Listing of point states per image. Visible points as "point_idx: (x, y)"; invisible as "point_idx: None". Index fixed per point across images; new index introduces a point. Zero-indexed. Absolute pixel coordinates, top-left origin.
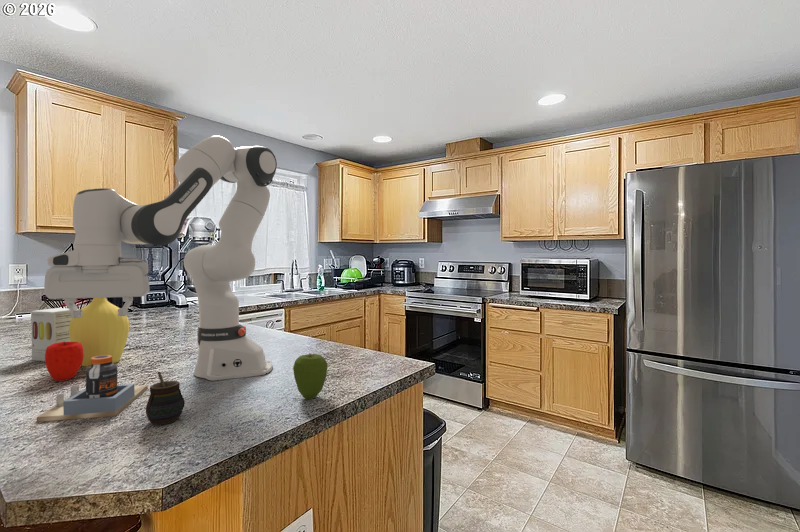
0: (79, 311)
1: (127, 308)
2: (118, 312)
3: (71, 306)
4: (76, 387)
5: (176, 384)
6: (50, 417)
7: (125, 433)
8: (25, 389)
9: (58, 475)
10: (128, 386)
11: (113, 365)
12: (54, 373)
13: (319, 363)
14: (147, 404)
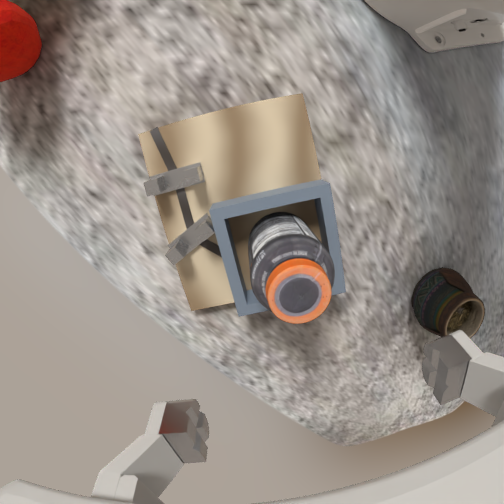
0: (202, 447)
1: (480, 356)
2: (435, 390)
3: (165, 484)
4: (160, 190)
5: (482, 320)
6: (216, 305)
7: (389, 338)
8: (6, 131)
9: (361, 421)
10: (327, 206)
11: (328, 272)
12: (11, 78)
13: None
14: (427, 328)
